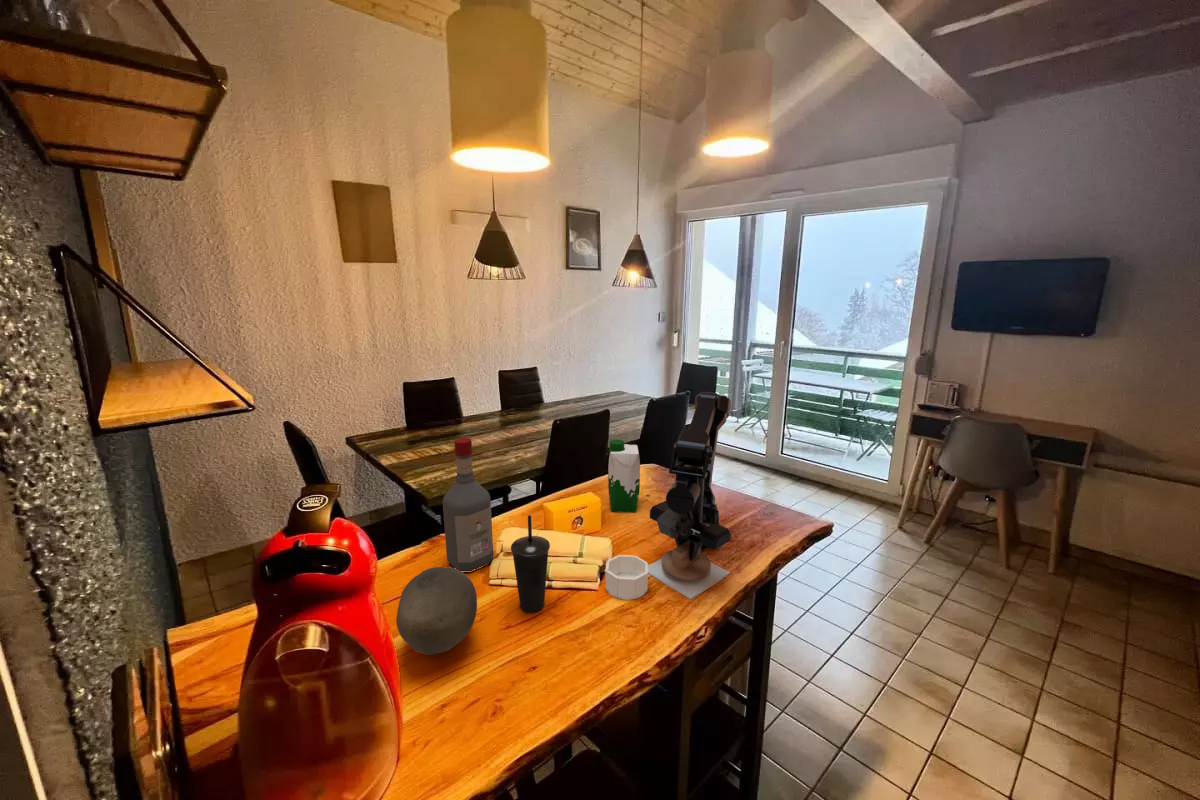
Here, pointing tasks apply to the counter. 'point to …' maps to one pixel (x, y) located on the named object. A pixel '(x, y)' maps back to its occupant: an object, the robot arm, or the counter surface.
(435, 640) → the dark grey round stone
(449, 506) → the liquor
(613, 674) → the counter surface
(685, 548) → the lid
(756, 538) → the counter surface
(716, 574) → the mat
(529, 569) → the drinking cup
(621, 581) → the bowl
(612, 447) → the milk carton
